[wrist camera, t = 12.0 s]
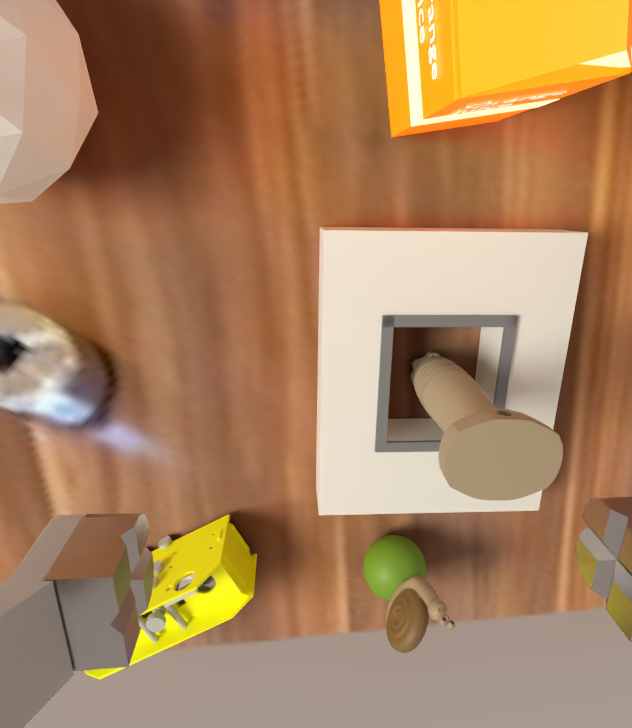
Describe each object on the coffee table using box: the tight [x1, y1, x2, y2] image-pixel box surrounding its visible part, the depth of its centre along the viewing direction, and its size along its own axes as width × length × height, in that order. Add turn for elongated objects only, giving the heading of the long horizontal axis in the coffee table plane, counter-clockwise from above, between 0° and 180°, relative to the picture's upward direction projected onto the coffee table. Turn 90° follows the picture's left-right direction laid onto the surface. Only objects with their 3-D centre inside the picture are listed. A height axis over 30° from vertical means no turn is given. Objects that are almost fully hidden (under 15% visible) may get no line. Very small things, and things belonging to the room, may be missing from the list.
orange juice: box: [380, 0, 632, 137], centre depth 24 cm, size 8×9×20 cm
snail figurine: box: [363, 535, 455, 653], centre depth 40 cm, size 5×6×12 cm
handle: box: [410, 352, 563, 500], centre depth 34 cm, size 5×6×15 cm
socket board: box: [316, 227, 588, 515], centre depth 39 cm, size 22×18×4 cm
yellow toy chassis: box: [85, 514, 257, 679], centre depth 42 cm, size 16×6×8 cm, turn 117°
